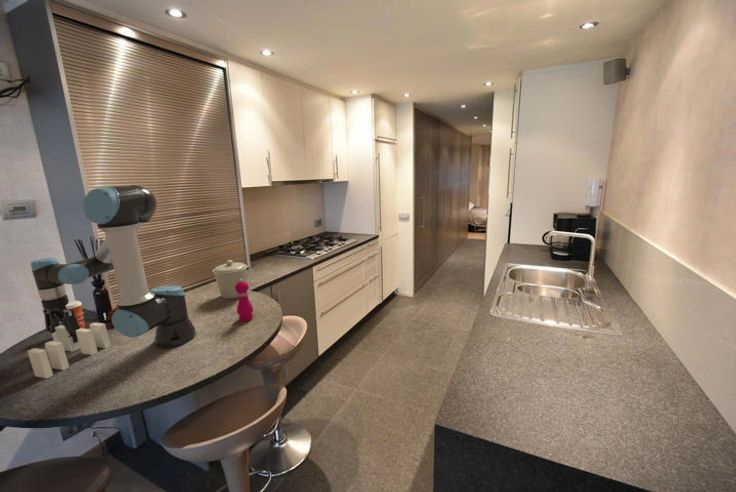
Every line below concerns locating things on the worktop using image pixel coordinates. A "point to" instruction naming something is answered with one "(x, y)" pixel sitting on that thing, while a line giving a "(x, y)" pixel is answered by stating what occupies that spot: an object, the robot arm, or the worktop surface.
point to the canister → (229, 278)
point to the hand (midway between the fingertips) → (68, 347)
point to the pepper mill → (243, 301)
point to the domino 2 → (63, 337)
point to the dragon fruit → (111, 313)
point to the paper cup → (77, 312)
